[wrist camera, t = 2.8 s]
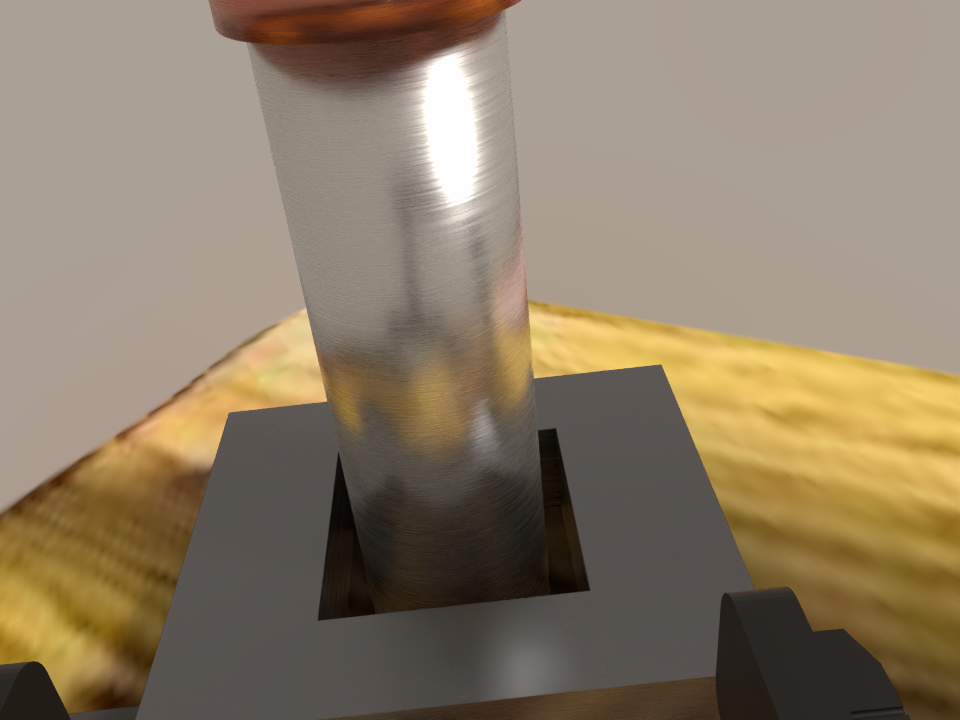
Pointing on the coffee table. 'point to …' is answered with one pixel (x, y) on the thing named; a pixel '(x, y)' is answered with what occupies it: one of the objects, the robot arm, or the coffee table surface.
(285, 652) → the bore housing
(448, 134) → the capped metal cylinder
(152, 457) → the coffee table surface
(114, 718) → the mat
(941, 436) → the coffee table surface
